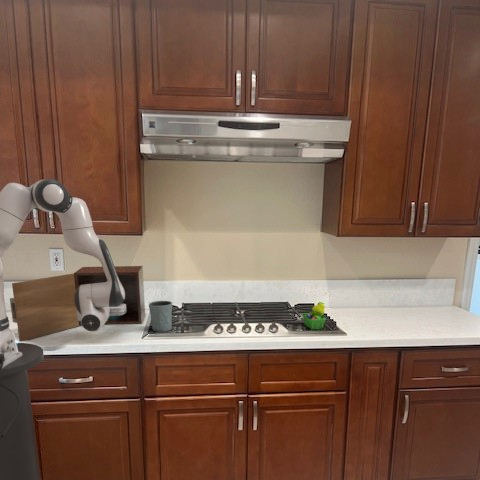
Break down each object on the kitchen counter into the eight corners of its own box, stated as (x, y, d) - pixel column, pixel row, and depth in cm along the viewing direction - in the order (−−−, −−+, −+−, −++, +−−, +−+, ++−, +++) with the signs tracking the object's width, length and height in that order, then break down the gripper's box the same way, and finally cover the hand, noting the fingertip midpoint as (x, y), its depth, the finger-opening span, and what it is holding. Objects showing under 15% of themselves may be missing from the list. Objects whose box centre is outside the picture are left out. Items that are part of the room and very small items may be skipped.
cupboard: (141, 323, 216) (138, 271, 210) (78, 325, 213) (73, 272, 207) (145, 314, 233) (142, 265, 227) (87, 315, 231) (82, 266, 224)
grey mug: (177, 329, 208) (176, 302, 205) (159, 333, 201) (158, 306, 197) (163, 324, 214) (161, 299, 211) (145, 329, 207) (143, 303, 204)
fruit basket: (300, 324, 216) (301, 300, 213) (318, 322, 218) (319, 299, 215) (310, 330, 205) (311, 305, 202) (328, 329, 207) (330, 304, 204)
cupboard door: (11, 338, 193) (3, 281, 187) (69, 323, 216) (64, 272, 210) (20, 341, 190) (13, 283, 183) (79, 325, 212) (74, 273, 206)
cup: (119, 320, 218) (117, 299, 216) (104, 320, 218) (102, 299, 215) (121, 316, 225) (119, 296, 222) (106, 316, 224) (105, 296, 222)
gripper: (124, 305, 190) (128, 297, 203) (72, 305, 188) (80, 298, 201) (125, 319, 192) (129, 311, 205) (73, 320, 190) (81, 312, 203)
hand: (104, 305), depth 203 cm, fingers open, 8 cm apart
